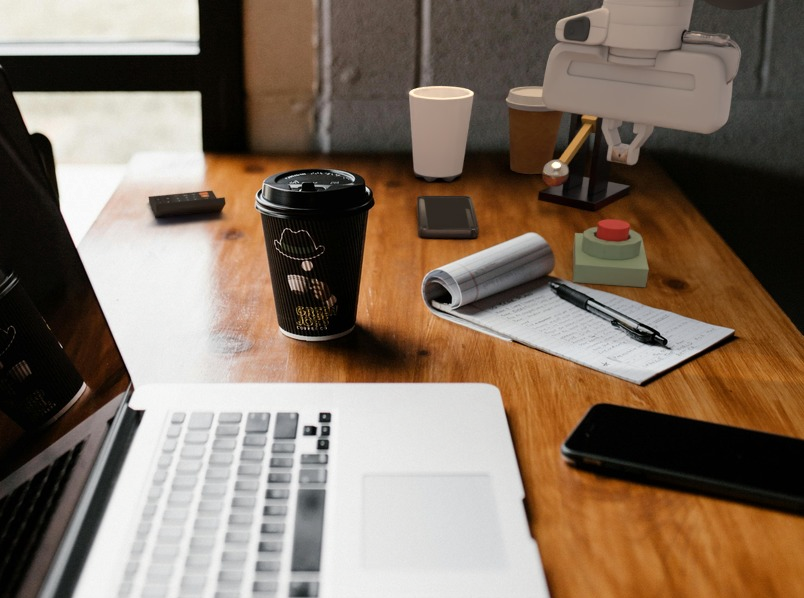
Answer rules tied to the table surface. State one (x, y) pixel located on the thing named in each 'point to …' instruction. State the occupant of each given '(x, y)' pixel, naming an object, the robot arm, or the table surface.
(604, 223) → the button
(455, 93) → the cup
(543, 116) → the disposable coffee cup
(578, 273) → the button block
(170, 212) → the calculator
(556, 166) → the switch lever
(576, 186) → the switch bracket
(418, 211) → the phone
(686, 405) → the table surface
